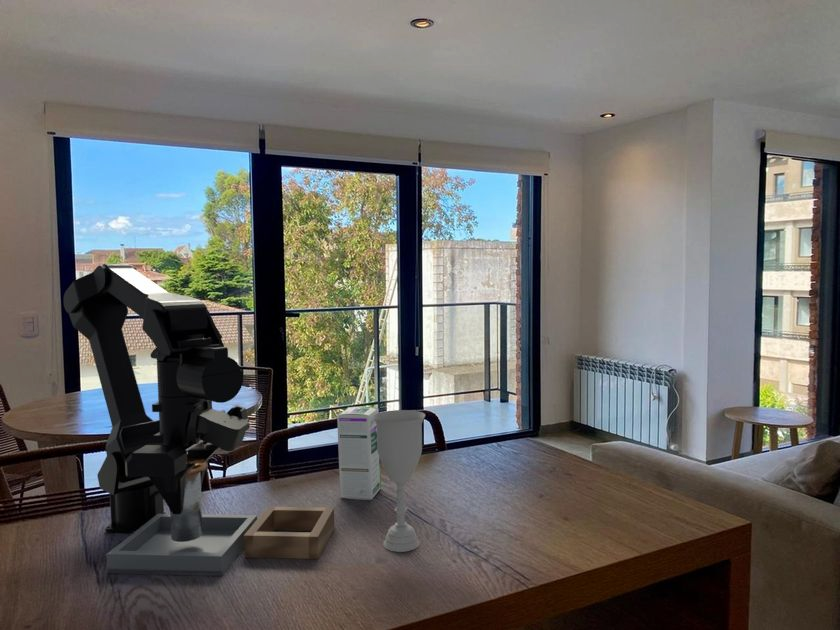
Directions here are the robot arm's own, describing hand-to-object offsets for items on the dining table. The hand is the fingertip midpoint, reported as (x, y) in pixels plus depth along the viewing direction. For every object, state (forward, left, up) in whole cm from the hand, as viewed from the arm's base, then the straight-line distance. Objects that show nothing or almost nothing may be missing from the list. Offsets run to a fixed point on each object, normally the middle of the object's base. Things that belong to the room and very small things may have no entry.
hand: (185, 506), depth 82 cm
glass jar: (0, 0, -4) cm, 4 cm away
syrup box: (+20, +22, -6) cm, 31 cm away
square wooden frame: (+14, +3, -6) cm, 15 cm away
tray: (0, 0, -6) cm, 6 cm away
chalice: (+29, +3, -6) cm, 30 cm away
